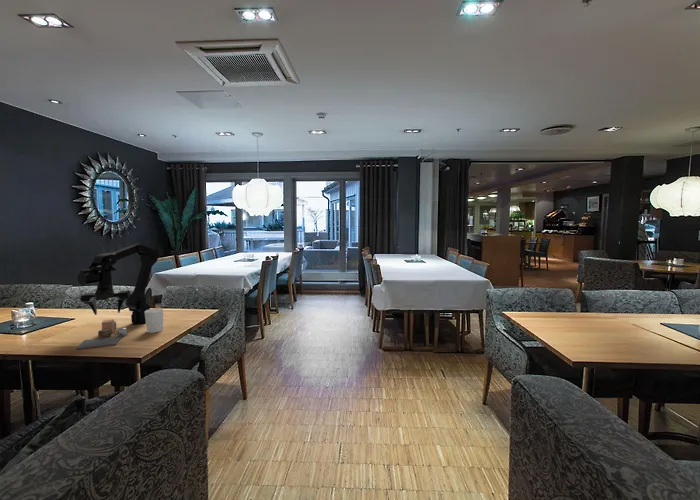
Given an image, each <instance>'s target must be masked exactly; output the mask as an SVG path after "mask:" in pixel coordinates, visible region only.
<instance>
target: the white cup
mask: <svg viewBox="0 0 700 500" xmlns="http://www.w3.org/2000/svg"><path fill="white" fill-rule="evenodd" d="M145 321H146V323H145V326H146V332H147V333H149V334H151V333H152V334H155V333H161V332H162V331H163V330H164V309H163V308H150V309H149V310H146V311H145Z"/></svg>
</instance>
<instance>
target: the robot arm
mask: <svg viewBox="0 0 700 500" xmlns="http://www.w3.org/2000/svg"><path fill="white" fill-rule="evenodd" d="M135 254H136V255H138V256H140V263H141V266H140V269H139V272H138V275H137V279H136V282H135V286H134V290H133V291H132V292H131V291H130V290H129V289H128V290H120V291H119V292H114V286H113V285H114V281H113V271H114V272H115V271H117V268H115V267H114V265H116V263H117V262H118V261H120V260H122V259H124V258H127V257H130V256H132V255H135ZM159 256H160V252H159V251H158V250H157V249H154V248H150V247H149V246H146V245H144V244H141V243H133V244H131V245H129V246H126V247H124V248H121V249H118V250H115V251H112V252H107V253H101V254H97V255H94V257H93V260H92V262H91V263H90V265H89V266H88V268H87V269H80V270H79V272H80V273H79V274H78V275H77V277H76V278H77V279H76V280H77V282H78V284H79V285H80V286H88V285H93V284H94V285H95V284H96V290H95V292H89V293H88V292H87V293H86V292H85V293H84V294H82V295H81V296H80V297H79V300H80V303H84V304H87V305H88V306H89V307H90V309H91V311H92V312H93V314H94V315H95V316H97V314H98V311H97V310H98V309H97V302H96V301H107V300H109V299H110V298H118V299H117V314H120V313H121V309H122V306H123V303H124V301H125V302H126V303H125V306H126V307H127V309H128V311H129V312H132V314H131V315H130V316H131V317H130V318H131V324H132V325H142V324H146V321H145V311H146V310H149V309H151V305H149V304H148V303H146V302H147V297H146V290H147V286H148V282H149V278H150V275H151V271H152V269H153V266H154V265H155V264H156V263H157V262H158V260H159Z"/></svg>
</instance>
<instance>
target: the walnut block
mask: <svg viewBox="0 0 700 500" xmlns="http://www.w3.org/2000/svg"><path fill="white" fill-rule="evenodd" d="M97 334H98V339H100V338H109V337H112V334H111V329H102V328H101V329H100V330H98V332H97Z"/></svg>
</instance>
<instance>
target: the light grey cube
mask: <svg viewBox="0 0 700 500" xmlns="http://www.w3.org/2000/svg"><path fill="white" fill-rule="evenodd" d="M116 329H117V337H118V336H121V338H123V337H127V336H128V331H127V330H128V329H127V327H126V326H124V327H123V326H122V327H119V328H116Z"/></svg>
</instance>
